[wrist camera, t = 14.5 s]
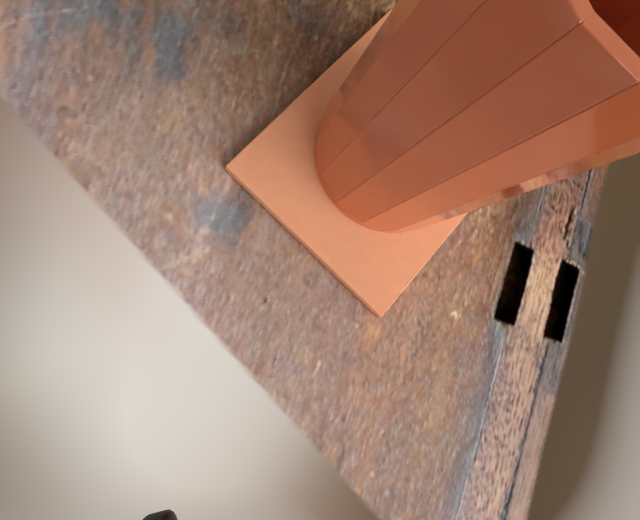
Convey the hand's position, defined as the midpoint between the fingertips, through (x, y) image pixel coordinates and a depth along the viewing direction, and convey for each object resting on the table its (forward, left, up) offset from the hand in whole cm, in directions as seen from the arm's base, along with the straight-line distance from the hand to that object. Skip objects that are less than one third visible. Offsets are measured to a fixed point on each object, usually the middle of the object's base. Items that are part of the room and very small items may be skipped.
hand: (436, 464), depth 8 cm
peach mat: (+10, +3, -12) cm, 15 cm away
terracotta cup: (+10, +3, -11) cm, 15 cm away
